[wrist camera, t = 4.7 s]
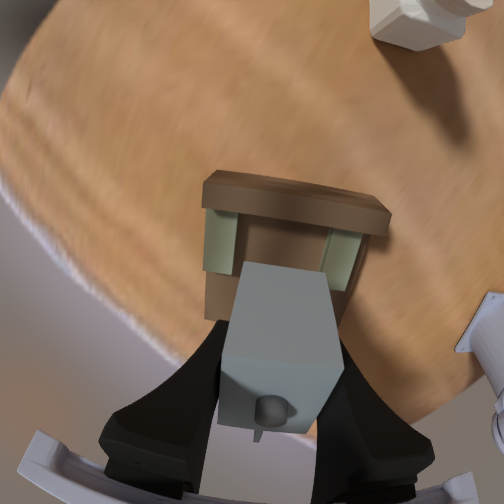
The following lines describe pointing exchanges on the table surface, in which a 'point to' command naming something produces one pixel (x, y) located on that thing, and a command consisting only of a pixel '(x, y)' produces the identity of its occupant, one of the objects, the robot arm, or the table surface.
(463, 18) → the pepper shaker
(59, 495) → the robot arm
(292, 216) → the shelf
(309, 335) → the grey knobbed box
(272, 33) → the table surface
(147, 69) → the table surface
